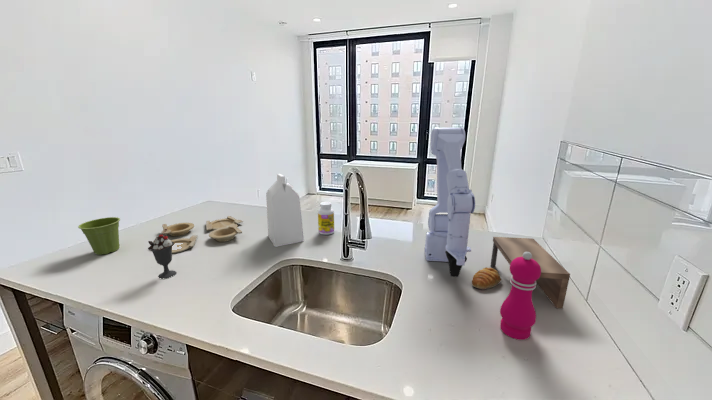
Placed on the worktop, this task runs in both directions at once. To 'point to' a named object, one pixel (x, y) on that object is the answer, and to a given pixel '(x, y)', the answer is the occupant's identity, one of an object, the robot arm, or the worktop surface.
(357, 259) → the worktop surface
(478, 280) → the pastry
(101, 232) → the plant pot
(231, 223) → the tableware set
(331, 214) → the supplement bottle
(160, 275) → the sundae
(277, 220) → the milk
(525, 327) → the pepper mill
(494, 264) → the walnut shelf
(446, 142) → the robot arm
